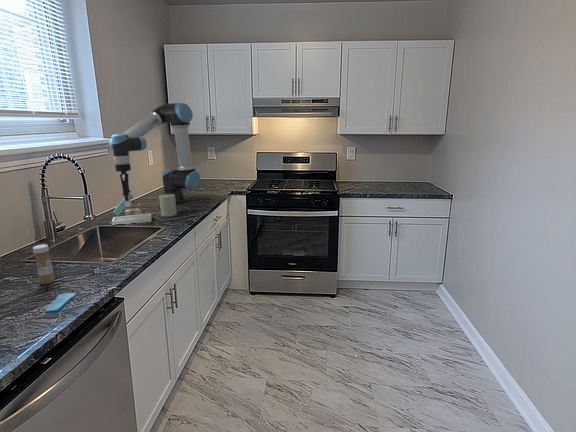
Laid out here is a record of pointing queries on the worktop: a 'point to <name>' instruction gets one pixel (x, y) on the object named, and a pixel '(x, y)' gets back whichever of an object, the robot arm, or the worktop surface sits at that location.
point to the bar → (121, 206)
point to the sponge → (60, 302)
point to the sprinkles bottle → (43, 264)
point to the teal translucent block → (134, 211)
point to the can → (167, 205)
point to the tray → (132, 219)
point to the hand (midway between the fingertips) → (128, 205)
